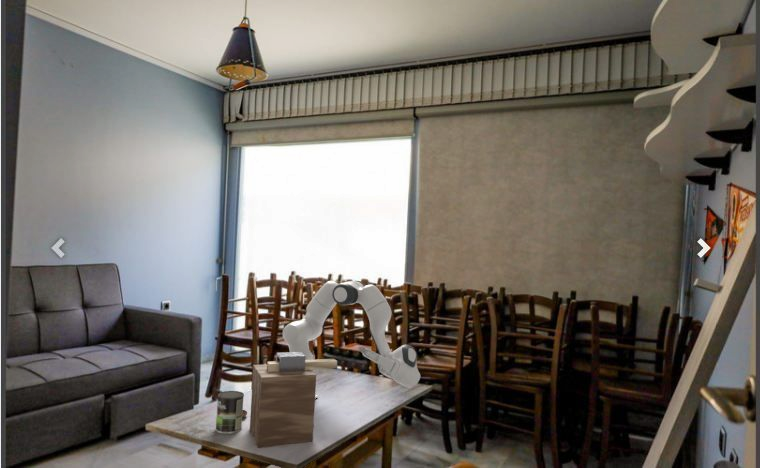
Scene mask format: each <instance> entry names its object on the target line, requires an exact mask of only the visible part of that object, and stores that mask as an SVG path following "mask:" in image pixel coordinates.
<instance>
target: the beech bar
mask: <svg viewBox="0 0 760 468" xmlns="http://www.w3.org/2000/svg"><path fill="white" fill-rule="evenodd" d="M266 364H267V370H268V372H273V371H279V367H280V361H275V360H273V361H267V362H266ZM337 368H338V360H336V359H335V358H321V359H320V358H319V359H313V360H305V370H327V369H329V370H330V369H337Z"/></svg>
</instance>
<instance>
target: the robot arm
mask: <svg viewBox="0 0 760 468" xmlns="http://www.w3.org/2000/svg"><path fill="white" fill-rule="evenodd" d="M356 303H357V304H360V305H361V306H362V308H363V309H364V312H365V313H366V315H367V318H368V320H369V332H370V335H371V338H372V341H373V342H374V343H373V344H374V346H375V348H376V350H377V352H375V351H373V350H372V349H371V348H370V349H369V348H368V347H366V348H364V347H362V346H361V345H360V346H358V348H357V350H358V351H359V352H361V353H362V356H363V357H365V358H367V359H369V360H370V361H372V362H374V363H375V364H377V367H378V371H379V373H381V374H382V375H384V376H385V377H387V378H389V379H392V380H394V381H395V382H396V383H397V384H399V385H402V386H404V387H405V388H409V389H410V388H413V387H415V386H416V385H418V383H419V382H420V379H421V373H420V372H419V369H418V364H417V363H418V362H417V359H418V353H417V350H416V349H415V348H414V347H413V346H412V345H410V344H408V343H407V344H402V345H400V346H399V347H397V349H395V350H393V351H391V349H390V345H389V344H388V341H387V339H386V335H385V333H386V329H387V326H388V325H389V323H390V321H391V318H392V314H393V313H392V309H391V306H390V304H389V303H388V301H387V299H386V298H385V296H384V295H383V292H381V291H380V289H379V288H378V287H377V286H376V285H374V284H365V283H363V282H362V281H359V280H348V281H345V282H340V283H338V282H337V281H334V280H328V281H326V282H325V283H324V284H323V285H322V286H321V287H320V288H319V289H318V290H317V291H316V293H315V295H314V296H313V297H312V299H311V300H310V301H309V303H308V304H307V306H306V307H305V309H306V313H305V315H304V317H303V318H302V319H300V320H295V321H292V322H290V323H288V324H286V325H285V326H284V328H283V329H282V337H283V340H284V342H286V344H287V346H288V349H289V352H302V353H303V354H304V355H305V356H306V358H305V360H314V356H313V353H312V352H311V349H310V347H309V342H311V341H314V340H315V339H318V337H320V336H321V334H322V333H323V326H324V323H325V321H326V319H327V317H328V316H329V315H330V314H331V312H332V310H333V309H334V308H335V307H336V305H337V304H338V305H340V306H349V305H354V304H356ZM312 371H313V372H314V369H312ZM316 398H317V399H318V398H319V395H317V394H316V393H315V400H316Z"/></svg>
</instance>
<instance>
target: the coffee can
mask: <svg viewBox="0 0 760 468" xmlns="http://www.w3.org/2000/svg"><path fill="white" fill-rule="evenodd" d="M244 397H245V393H243V392H242V391H239V390H238V391H237V390H227V391H226V390H225V391H221V392H219V393H218V394H217V406H216V422H215V432H217V433H218V434H222V435H224V434H225V435H227V434H229V435H230V434H231V435H233V434H236V433H239V432H240V431H242V428H243V427H242V426H243V425H242V423H243V418H242V412H243V410H244Z"/></svg>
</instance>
